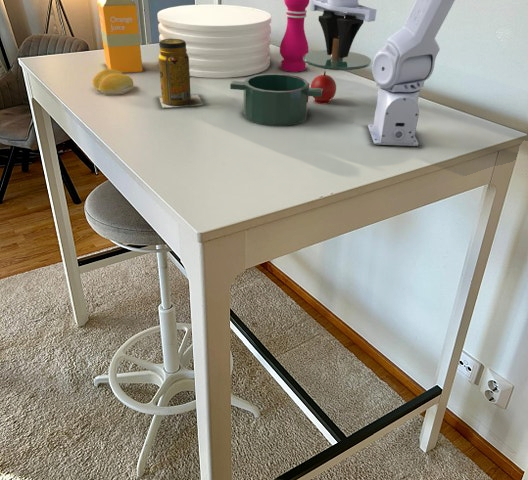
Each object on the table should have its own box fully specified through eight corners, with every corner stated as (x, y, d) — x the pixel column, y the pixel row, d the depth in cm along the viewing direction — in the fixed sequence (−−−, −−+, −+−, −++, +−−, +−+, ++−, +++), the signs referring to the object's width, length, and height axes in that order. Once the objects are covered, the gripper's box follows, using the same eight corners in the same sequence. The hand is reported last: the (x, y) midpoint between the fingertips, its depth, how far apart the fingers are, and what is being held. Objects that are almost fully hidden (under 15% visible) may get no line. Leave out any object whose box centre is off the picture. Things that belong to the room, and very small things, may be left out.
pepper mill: (291, 74, 135) (297, -18, 123) (273, 67, 140) (276, -22, 128) (313, 69, 139) (320, -20, 127) (294, 63, 143) (299, -24, 132)
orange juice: (111, 73, 131) (98, -22, 119) (105, 64, 138) (92, -27, 126) (143, 71, 134) (134, -23, 122) (136, 62, 140) (127, -28, 128)
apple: (335, 106, 116) (339, 75, 112) (309, 105, 116) (312, 74, 112) (333, 98, 120) (336, 68, 117) (308, 97, 120) (311, 67, 117)
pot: (315, 130, 104) (318, 96, 100) (223, 121, 107) (223, 87, 103) (323, 109, 114) (326, 77, 110) (239, 101, 117) (239, 70, 113)
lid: (369, 75, 103) (372, 48, 100) (298, 70, 105) (299, 42, 102) (371, 58, 114) (375, 33, 111) (307, 53, 116) (309, 28, 113)
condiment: (159, 97, 117) (153, 37, 110) (198, 95, 119) (195, 36, 112) (162, 108, 111) (157, 45, 104) (203, 106, 113) (201, 44, 106)
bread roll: (107, 98, 116) (105, 78, 114) (88, 88, 121) (85, 69, 119) (142, 91, 120) (140, 72, 118) (122, 81, 126) (119, 63, 124)
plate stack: (140, 59, 142) (135, 10, 136) (224, 45, 158) (223, 1, 151) (205, 84, 126) (203, 30, 119) (292, 66, 141) (294, 17, 135)
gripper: (390, -20, 99) (379, 59, 107) (329, -28, 107) (323, 46, 115) (366, -17, 95) (356, 65, 103) (305, -26, 103) (300, 50, 111)
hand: (337, 55), depth 109 cm, fingers closed on lid, 2 cm apart
